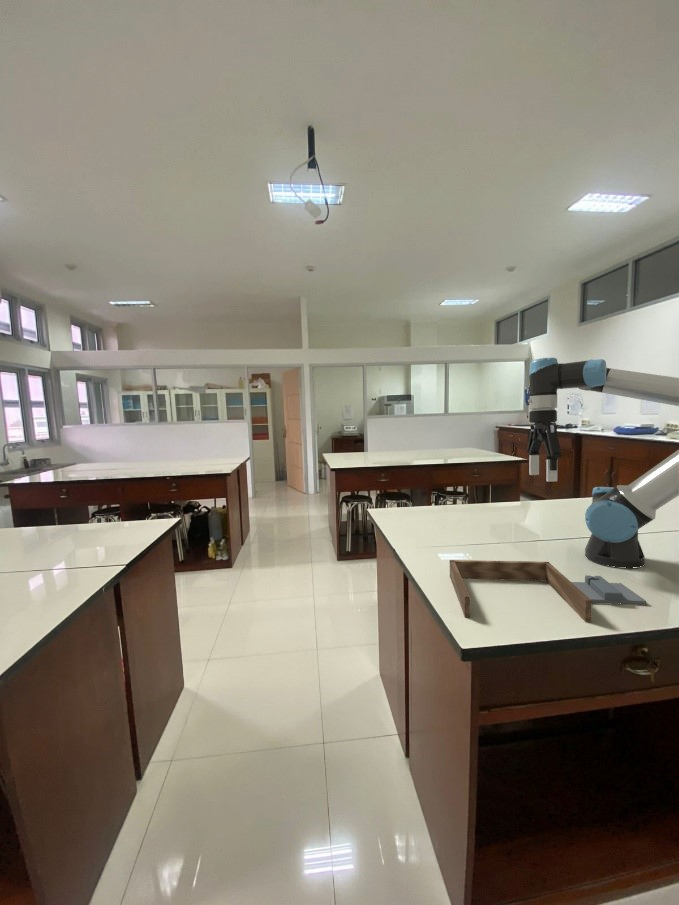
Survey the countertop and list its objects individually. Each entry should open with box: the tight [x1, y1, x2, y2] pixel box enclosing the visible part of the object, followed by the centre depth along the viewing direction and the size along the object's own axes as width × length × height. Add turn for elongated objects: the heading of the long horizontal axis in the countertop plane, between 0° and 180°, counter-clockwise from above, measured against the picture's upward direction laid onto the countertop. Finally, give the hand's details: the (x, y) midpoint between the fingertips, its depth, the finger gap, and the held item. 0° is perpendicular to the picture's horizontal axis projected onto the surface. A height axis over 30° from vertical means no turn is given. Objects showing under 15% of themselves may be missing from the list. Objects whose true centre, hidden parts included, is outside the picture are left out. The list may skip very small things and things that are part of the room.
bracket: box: [584, 574, 623, 601], centre depth 94 cm, size 4×10×2 cm, turn 170°
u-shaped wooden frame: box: [449, 559, 593, 623], centre depth 95 cm, size 27×23×5 cm
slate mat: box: [571, 581, 647, 605], centre depth 94 cm, size 14×10×1 cm
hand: (542, 478), depth 116 cm, fingers open, 13 cm apart
